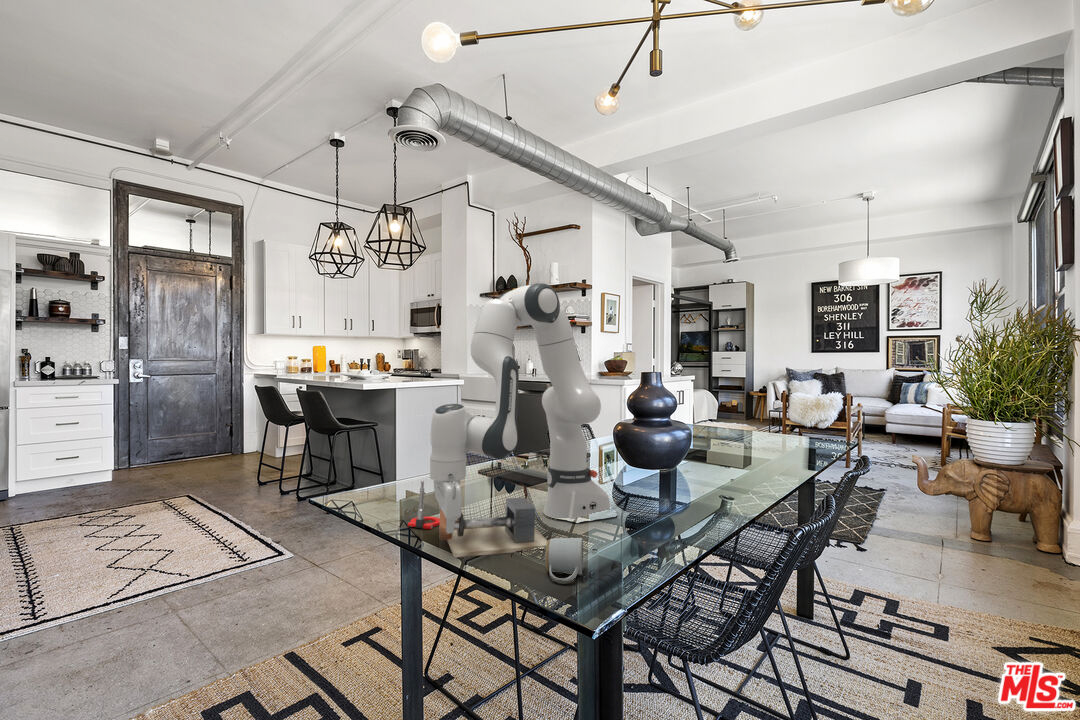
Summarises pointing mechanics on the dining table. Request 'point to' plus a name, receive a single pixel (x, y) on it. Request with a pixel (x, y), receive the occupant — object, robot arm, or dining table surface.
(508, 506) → the eye bracket
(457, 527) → the flanged metal rod
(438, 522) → the tow hook
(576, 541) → the ceramic mug
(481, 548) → the base board
